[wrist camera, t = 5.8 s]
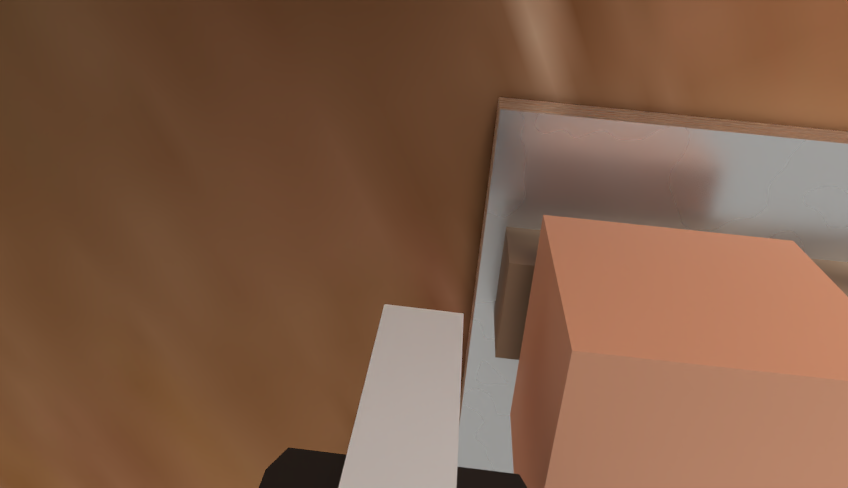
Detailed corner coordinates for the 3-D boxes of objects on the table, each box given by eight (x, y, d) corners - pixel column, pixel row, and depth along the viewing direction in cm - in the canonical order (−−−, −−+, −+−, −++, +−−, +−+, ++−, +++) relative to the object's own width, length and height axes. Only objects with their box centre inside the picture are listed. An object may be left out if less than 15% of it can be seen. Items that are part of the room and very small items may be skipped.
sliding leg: (488, 486, 20) (492, 747, 14) (536, 183, 16) (572, 350, 10) (668, 507, 20) (756, 780, 14) (759, 206, 16) (939, 391, 10)
